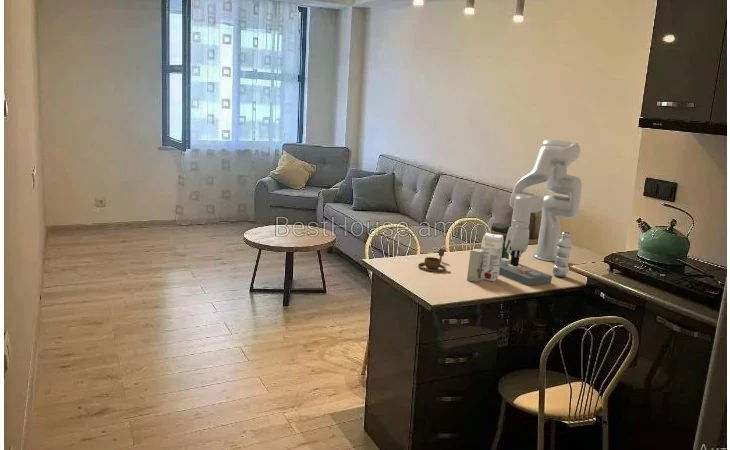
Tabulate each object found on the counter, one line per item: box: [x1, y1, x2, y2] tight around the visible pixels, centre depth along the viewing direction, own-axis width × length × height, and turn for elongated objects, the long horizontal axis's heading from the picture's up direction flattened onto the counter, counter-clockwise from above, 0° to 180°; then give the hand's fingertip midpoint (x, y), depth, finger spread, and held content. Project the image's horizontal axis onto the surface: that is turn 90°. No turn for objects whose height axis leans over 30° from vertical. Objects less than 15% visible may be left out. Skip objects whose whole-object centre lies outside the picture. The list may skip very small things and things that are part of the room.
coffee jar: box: [490, 222, 511, 260], centre depth 296 cm, size 10×8×19 cm
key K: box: [501, 258, 511, 265], centre depth 284 cm, size 4×4×2 cm
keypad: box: [499, 263, 553, 287], centre depth 278 cm, size 14×25×3 cm, turn 33°
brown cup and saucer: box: [417, 249, 451, 275], centre depth 279 cm, size 18×20×6 cm
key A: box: [507, 264, 521, 270], centre depth 280 cm, size 4×4×2 cm
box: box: [466, 248, 484, 283], centre depth 264 cm, size 5×4×13 cm
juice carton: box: [480, 232, 504, 282], centre depth 268 cm, size 8×9×19 cm
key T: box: [517, 268, 531, 274], centre depth 275 cm, size 4×4×2 cm
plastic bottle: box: [552, 231, 573, 278], centre depth 282 cm, size 6×7×20 cm
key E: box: [528, 271, 542, 277], centre depth 270 cm, size 4×4×2 cm
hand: (514, 265), depth 280 cm, fingers closed
